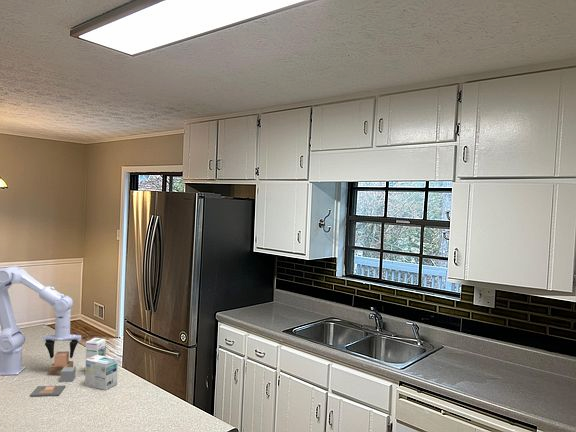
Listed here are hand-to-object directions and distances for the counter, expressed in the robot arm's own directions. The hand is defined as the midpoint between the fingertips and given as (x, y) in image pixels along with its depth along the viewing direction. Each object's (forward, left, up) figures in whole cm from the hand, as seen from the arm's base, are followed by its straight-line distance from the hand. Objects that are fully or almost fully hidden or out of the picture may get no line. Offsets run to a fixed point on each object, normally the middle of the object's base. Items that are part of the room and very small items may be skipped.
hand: (61, 357), depth 187 cm
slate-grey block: (+5, -8, -6) cm, 11 cm away
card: (+1, -19, -6) cm, 20 cm away
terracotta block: (0, 0, -3) cm, 3 cm away
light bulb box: (+19, -14, -7) cm, 25 cm away
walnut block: (0, 0, -7) cm, 7 cm away
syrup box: (+14, -2, -7) cm, 16 cm away
